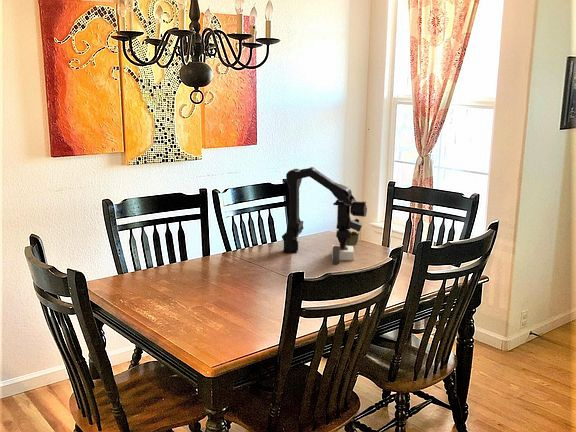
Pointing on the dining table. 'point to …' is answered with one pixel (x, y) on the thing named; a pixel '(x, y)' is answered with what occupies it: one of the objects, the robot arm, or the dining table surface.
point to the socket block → (346, 253)
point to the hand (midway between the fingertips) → (342, 247)
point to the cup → (352, 239)
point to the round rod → (336, 255)
